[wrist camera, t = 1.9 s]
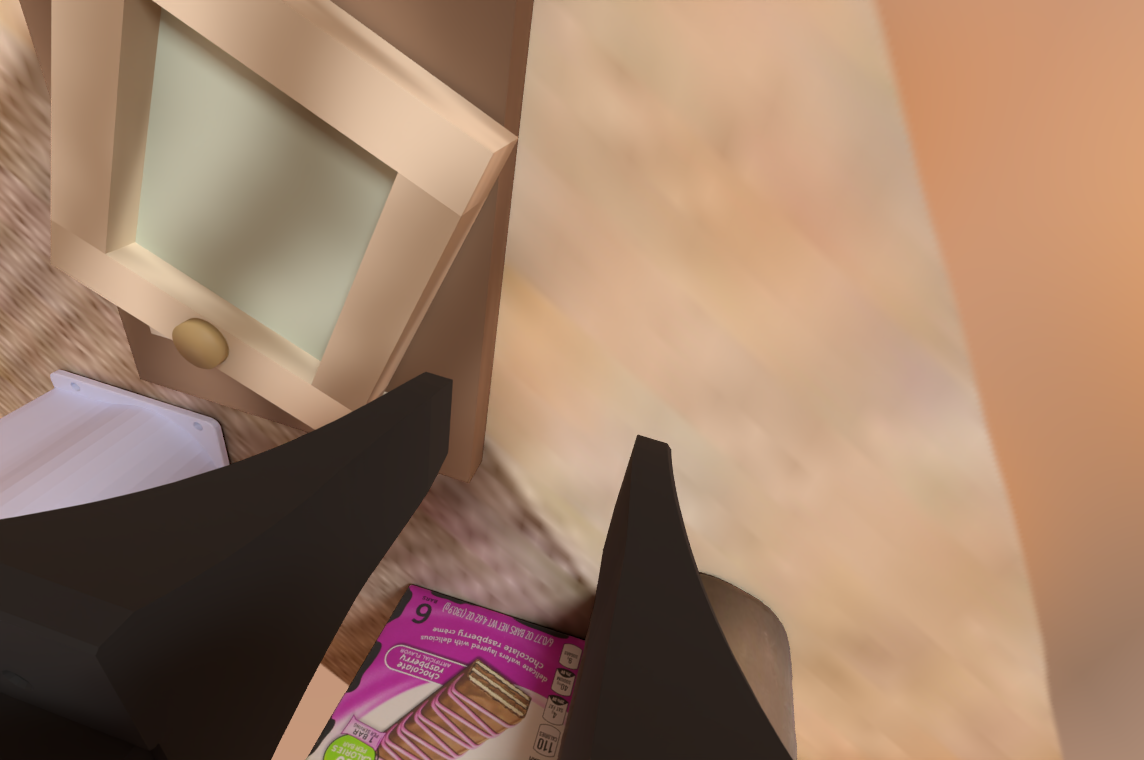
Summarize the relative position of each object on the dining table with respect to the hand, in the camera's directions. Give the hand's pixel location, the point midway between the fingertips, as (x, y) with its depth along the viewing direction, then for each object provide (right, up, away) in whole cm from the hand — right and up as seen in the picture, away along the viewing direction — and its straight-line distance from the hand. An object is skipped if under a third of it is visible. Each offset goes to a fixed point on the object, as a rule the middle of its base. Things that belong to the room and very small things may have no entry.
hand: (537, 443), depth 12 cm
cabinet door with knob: (-9, +7, +7) cm, 14 cm away
